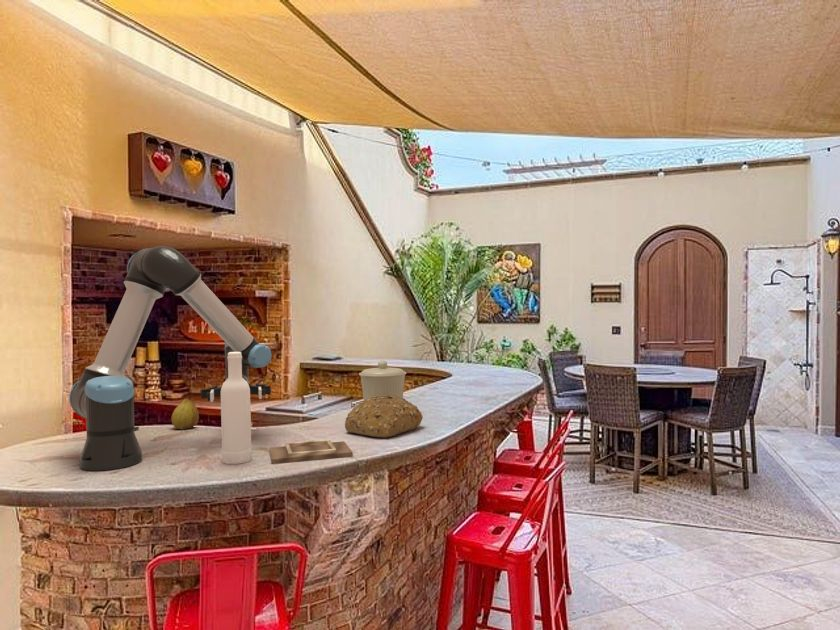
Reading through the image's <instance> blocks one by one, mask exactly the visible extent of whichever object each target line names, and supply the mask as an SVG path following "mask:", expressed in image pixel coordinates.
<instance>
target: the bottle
mask: <svg viewBox="0 0 840 630" xmlns="http://www.w3.org/2000/svg"><path fill="white" fill-rule="evenodd" d="M227 359H228V379H227V380H226V379H225V381H224V382H223V383H222V385H221V387H222V388H221V396H220V416H221V417H220V419H221V420H220V421H221V423H220V425H221V458H222V459H221V460H222V463H223V464H227V465H239V464H245V463H248V462H250V461H251V460H252V454H253V452H252V451H253V447H252V419H251V417H252V415H251V394H250V388H249V385H248V382H247V381H246V380H245V379H244V378H242V355H241V352H229V353H228V357H227Z"/></svg>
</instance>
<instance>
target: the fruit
mask: <svg viewBox="0 0 840 630" xmlns="http://www.w3.org/2000/svg"><path fill="white" fill-rule="evenodd" d="M193 396H194V393H192V394H190V396H189V398H184V399H183V400H181V402H180V403H179V404H178V405H177V406H176V407H175V409H174V410H173V411H172V414H171V418H170V419H171V424H172V426H173V427H174V428H175V429H177V430H188V429H191V428H193V427H194V426H197V424H198V423H199V420H200V415H199V411H198V408H197V406H196V404H195V402H194V401H193V400H191V398H192V397H193Z"/></svg>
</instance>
